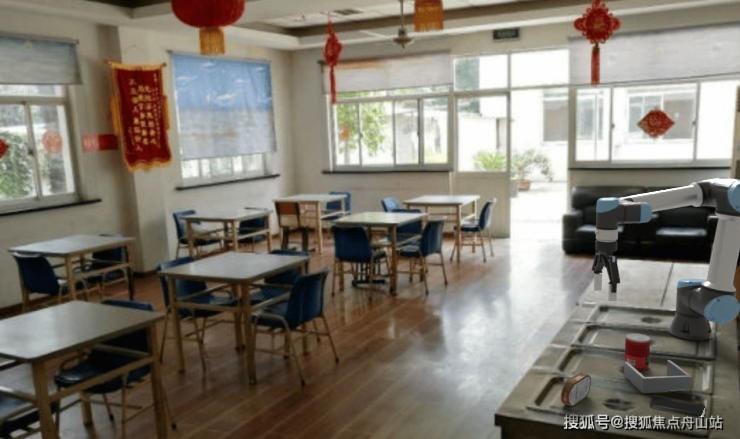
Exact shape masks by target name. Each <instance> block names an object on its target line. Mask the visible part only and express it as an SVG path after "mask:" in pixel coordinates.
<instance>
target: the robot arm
mask: <svg viewBox="0 0 740 439" xmlns="http://www.w3.org/2000/svg"><path fill="white" fill-rule="evenodd" d="M689 206H693V207H696V208H697V207H713V208H715V211H714V214H715V215H716V217H717V218H718V219H717V225H716V230H715V235H714V238H713V239H714V241H713V245H712V250H711V255H710V260H709V261H710V262H709V265H708V270H707V275H706V279H705V278H681V279H679V280H678V281H677V284H676V285H677V286H676V302H675V303H676V304H675V313H674V314H675V315H674V317H673V319H672V321H671V324H670V326H669V333H670V335H672V336H674V337H676V338H679V339H684V340H689V341H700V342H701V341H709V340H710V339H709V338H710V337H711V336H712V337H713V330H712V327H711V323H710V322H712V323H715V324H719V325H723V324H724V325H725V324H728V323H730V322H731V321H733V320H734V319H736V317H737V316H738V314H739V312H740V302H739V301H738V299H737V298H736V293H737V289H736V287H735V286H734V285H733V284H734V278H735V274H736V270H737V269H736V268H737V265H738V259H739V255H740V254H739V253H740V179H736V178H729V177H715V178H710V179H704V180H700V181H695V182H691V183H689V184H688V185H687V186H681V187H675V188H670V189H669V188H668V189H665V190H658V191H653V192H652V191H651V192H647V193H639V194H635V195H629V196H625V197H624V196H623V197H622V196H621V197H615V196H614V197H613V196H612V197H602V198H601V197H600V198H598V199H597V201H596V208H595V209H596V210H595V212H596V215H595V216H596V219H595V220H596V222H595V223H596V225H595V226H596V227H595V231H594V234H595V239H596V240H595V246H594V247H595V254H594V258H593V262H592V266H591V271H593V291H594V292H596V291H597V292H598V291H599V292H600V291H602V289H603V288H602V285H603V284H602V283H603V269H604V268H606V272H607V276H608V280H609V282H608V283H607V284H608V295H607V296H608V297H607V298H608V299H607V301H608V302H616V301H617V298H618V297H617V296H618V285H619V284H621V278H620V271H619V265H618V256H616V255H614V252H616V251H618V241H617V240H618V238H619V225H621V224H622V225H623V224H641V223H648V222H650V221H651V219H652V216H653V212H659V211H663V210H664V211H665V210H671V209H676V208H682V207H689Z"/></svg>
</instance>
